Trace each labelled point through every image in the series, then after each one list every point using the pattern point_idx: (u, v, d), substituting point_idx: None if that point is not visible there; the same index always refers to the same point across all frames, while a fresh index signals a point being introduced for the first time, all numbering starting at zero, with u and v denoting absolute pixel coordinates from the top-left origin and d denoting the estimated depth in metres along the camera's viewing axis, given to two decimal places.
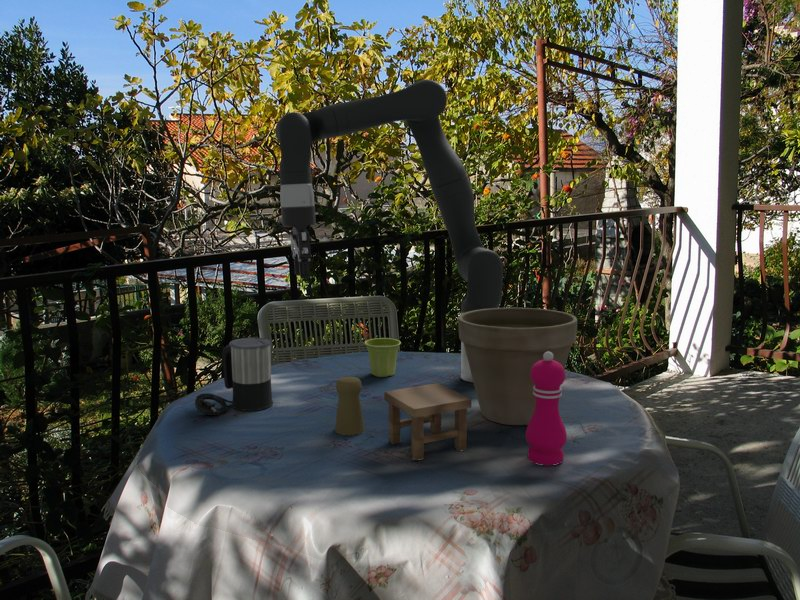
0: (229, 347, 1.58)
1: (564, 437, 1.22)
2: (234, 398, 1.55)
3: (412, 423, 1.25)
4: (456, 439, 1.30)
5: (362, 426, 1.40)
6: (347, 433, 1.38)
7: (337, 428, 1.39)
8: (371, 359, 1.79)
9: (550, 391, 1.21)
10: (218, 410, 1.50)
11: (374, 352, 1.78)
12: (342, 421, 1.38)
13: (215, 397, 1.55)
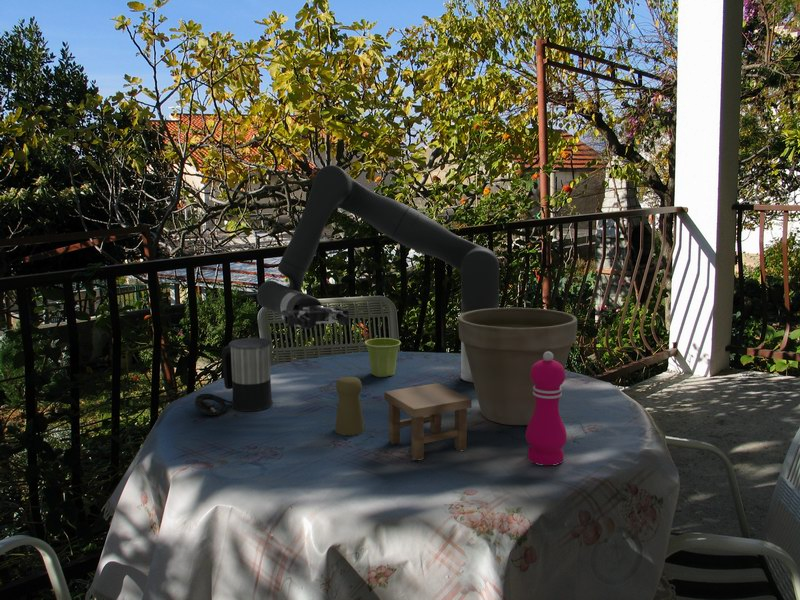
0: (229, 347, 1.58)
1: (564, 437, 1.22)
2: (234, 398, 1.55)
3: (412, 423, 1.25)
4: (456, 439, 1.30)
5: (362, 426, 1.40)
6: (347, 433, 1.38)
7: (337, 428, 1.39)
8: (371, 359, 1.79)
9: (550, 391, 1.21)
10: (218, 410, 1.50)
11: (374, 352, 1.78)
12: (342, 421, 1.38)
13: (215, 397, 1.55)
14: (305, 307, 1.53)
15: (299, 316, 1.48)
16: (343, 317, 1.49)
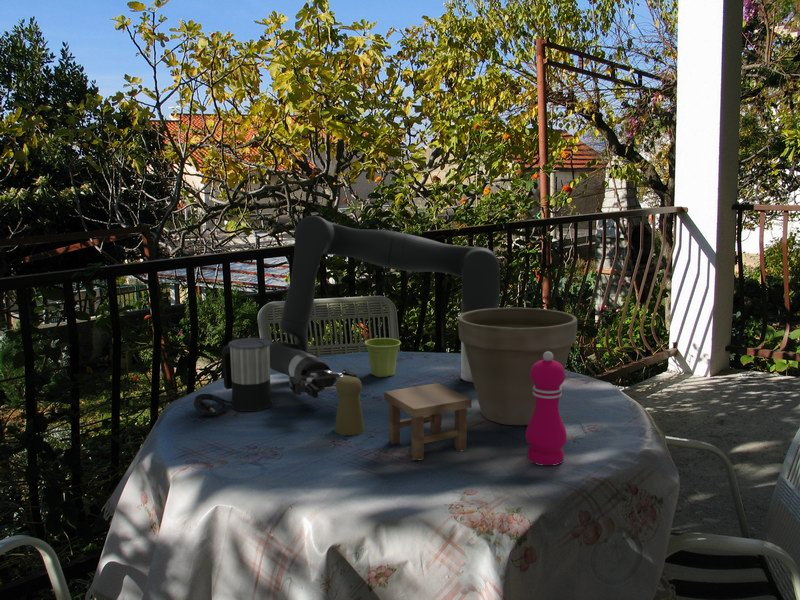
0: (228, 347, 1.57)
1: (564, 437, 1.22)
2: (233, 398, 1.54)
3: (412, 423, 1.25)
4: (456, 439, 1.30)
5: (362, 426, 1.40)
6: (347, 433, 1.38)
7: (337, 428, 1.39)
8: (371, 359, 1.79)
9: (550, 391, 1.21)
10: (217, 410, 1.50)
11: (374, 352, 1.78)
12: (342, 421, 1.38)
13: (214, 397, 1.55)
14: (313, 373, 1.52)
15: (306, 384, 1.47)
16: None
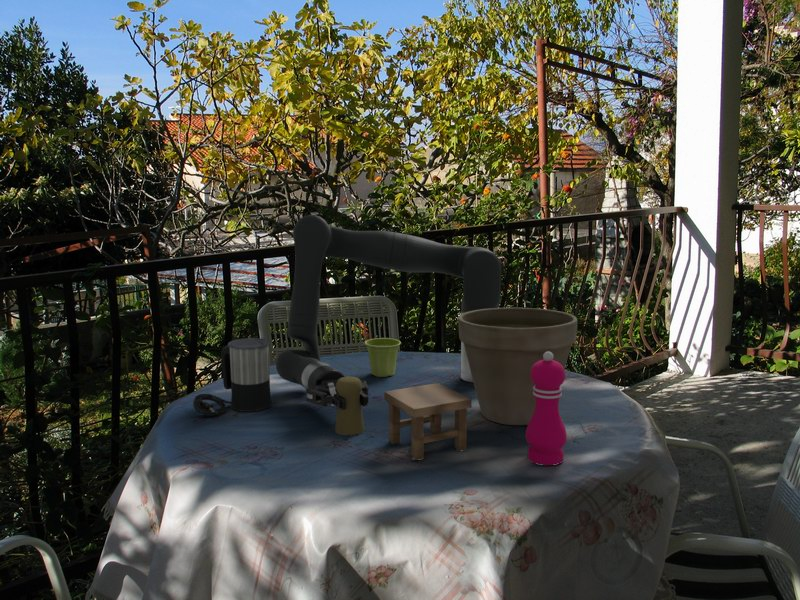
0: (228, 347, 1.57)
1: (564, 437, 1.22)
2: (233, 399, 1.54)
3: (412, 423, 1.25)
4: (456, 439, 1.30)
5: (362, 426, 1.40)
6: (347, 433, 1.38)
7: (337, 428, 1.39)
8: (371, 359, 1.79)
9: (550, 391, 1.21)
10: (216, 411, 1.50)
11: (374, 352, 1.78)
12: (342, 421, 1.38)
13: (214, 398, 1.55)
14: (330, 383, 1.44)
15: (334, 395, 1.39)
16: (362, 397, 1.39)
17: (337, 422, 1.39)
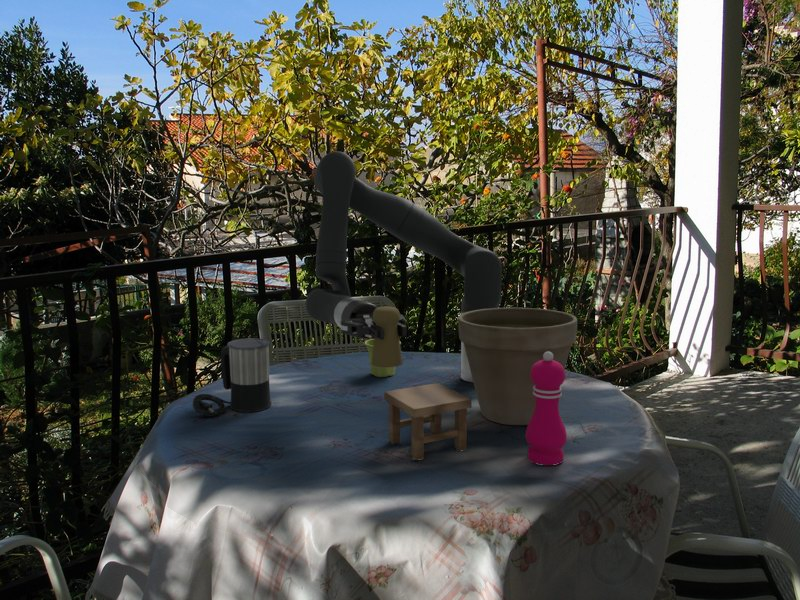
0: (227, 348, 1.57)
1: (564, 437, 1.22)
2: (232, 399, 1.54)
3: (412, 423, 1.25)
4: (456, 439, 1.30)
5: (400, 358, 1.33)
6: (385, 365, 1.31)
7: (374, 360, 1.32)
8: (371, 359, 1.79)
9: (550, 391, 1.21)
10: (216, 411, 1.50)
11: None
12: (379, 353, 1.31)
13: (213, 398, 1.55)
14: (365, 315, 1.37)
15: (371, 325, 1.32)
16: (400, 327, 1.32)
17: (374, 354, 1.32)
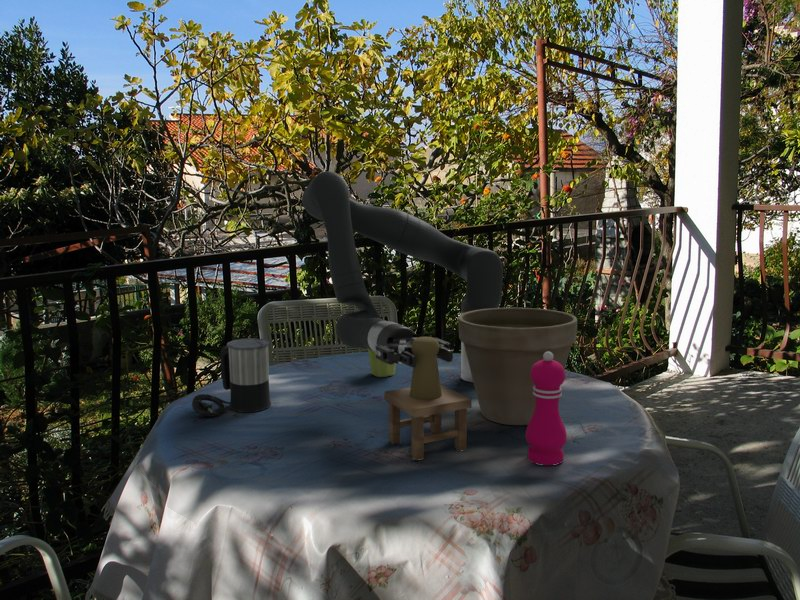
0: (227, 348, 1.57)
1: (564, 437, 1.22)
2: (231, 399, 1.54)
3: (412, 423, 1.25)
4: (456, 439, 1.30)
5: (440, 390, 1.30)
6: (425, 397, 1.28)
7: (413, 392, 1.29)
8: (371, 359, 1.79)
9: (550, 391, 1.21)
10: (215, 411, 1.50)
11: (374, 352, 1.78)
12: (419, 384, 1.28)
13: (213, 398, 1.55)
14: (402, 340, 1.34)
15: (401, 352, 1.28)
16: (446, 352, 1.29)
17: (413, 386, 1.29)
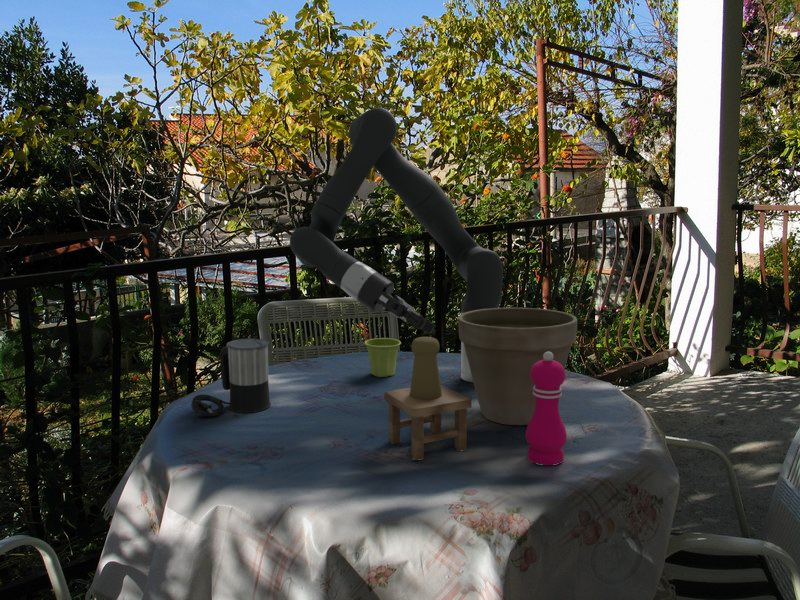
0: (227, 348, 1.57)
1: (564, 437, 1.22)
2: (231, 399, 1.54)
3: (412, 423, 1.25)
4: (456, 439, 1.30)
5: (440, 390, 1.30)
6: (425, 397, 1.28)
7: (413, 392, 1.29)
8: (371, 359, 1.79)
9: (550, 391, 1.21)
10: (214, 411, 1.50)
11: (374, 352, 1.78)
12: (419, 384, 1.28)
13: (212, 398, 1.54)
14: (398, 297, 1.45)
15: (410, 310, 1.40)
16: (430, 325, 1.48)
17: (413, 386, 1.29)
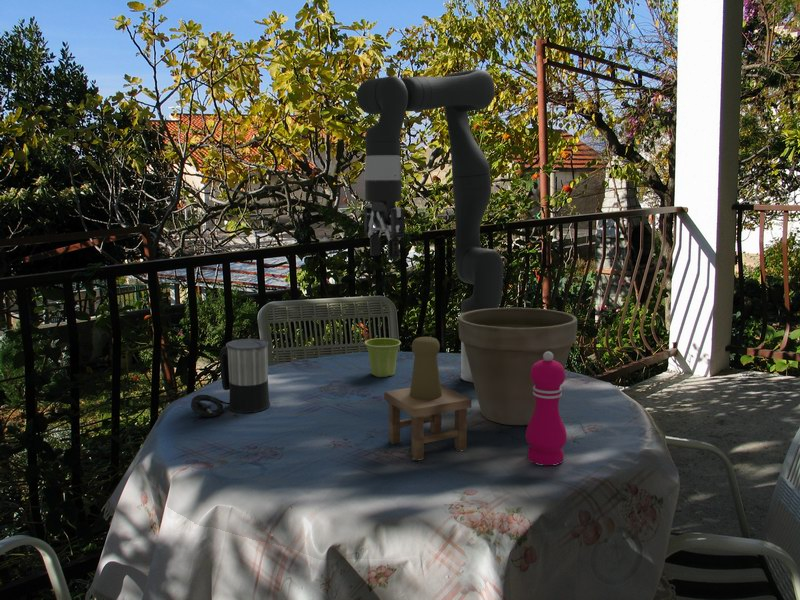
0: (226, 348, 1.57)
1: (564, 437, 1.22)
2: (231, 400, 1.54)
3: (412, 423, 1.25)
4: (456, 439, 1.30)
5: (440, 390, 1.30)
6: (425, 397, 1.28)
7: (413, 392, 1.29)
8: (371, 359, 1.79)
9: (550, 391, 1.21)
10: (214, 412, 1.49)
11: (374, 352, 1.78)
12: (419, 384, 1.28)
13: (212, 398, 1.54)
14: None
15: (398, 239, 1.41)
16: (378, 251, 1.49)
17: (413, 386, 1.29)
